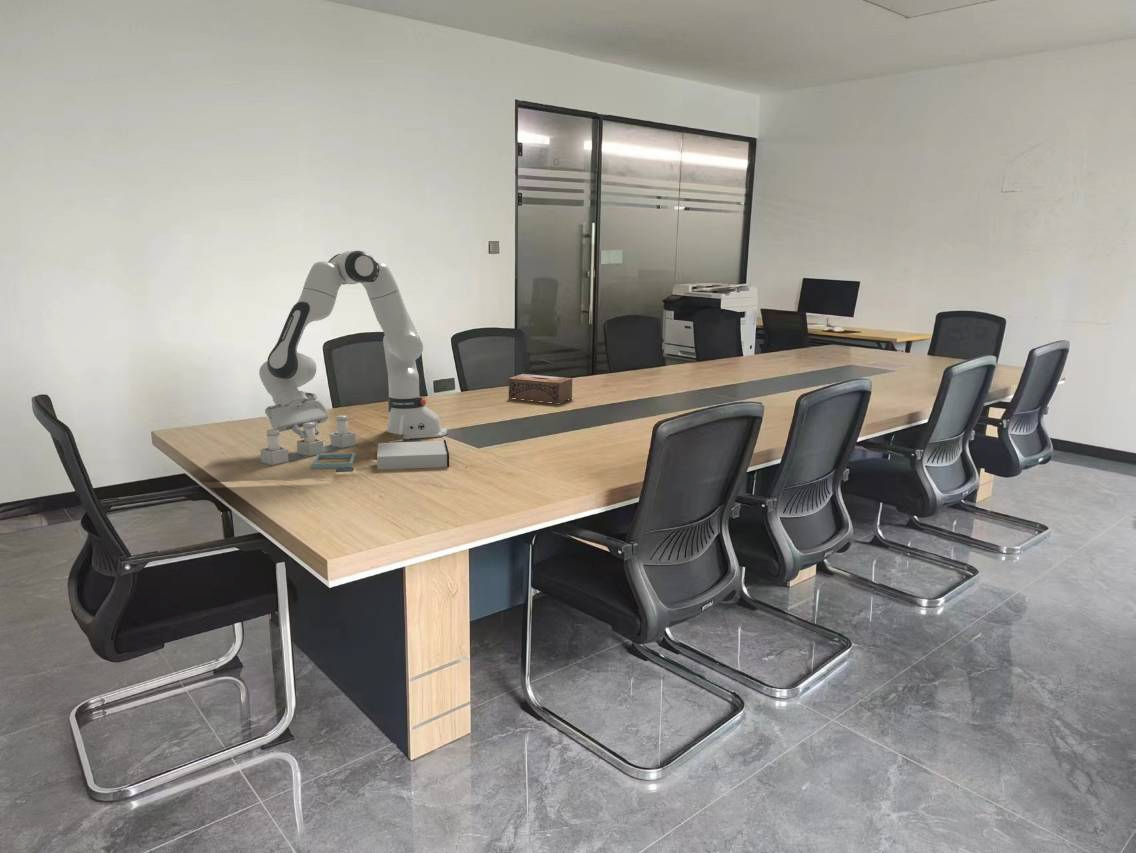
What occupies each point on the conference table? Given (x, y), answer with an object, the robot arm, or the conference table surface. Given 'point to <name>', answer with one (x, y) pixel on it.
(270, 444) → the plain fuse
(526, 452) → the conference table surface
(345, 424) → the peg
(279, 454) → the fuse holder
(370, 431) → the conference table surface
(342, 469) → the tray
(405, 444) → the disc drive
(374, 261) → the robot arm
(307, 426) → the marked fuse
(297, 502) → the conference table surface
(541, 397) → the tissue box cover
